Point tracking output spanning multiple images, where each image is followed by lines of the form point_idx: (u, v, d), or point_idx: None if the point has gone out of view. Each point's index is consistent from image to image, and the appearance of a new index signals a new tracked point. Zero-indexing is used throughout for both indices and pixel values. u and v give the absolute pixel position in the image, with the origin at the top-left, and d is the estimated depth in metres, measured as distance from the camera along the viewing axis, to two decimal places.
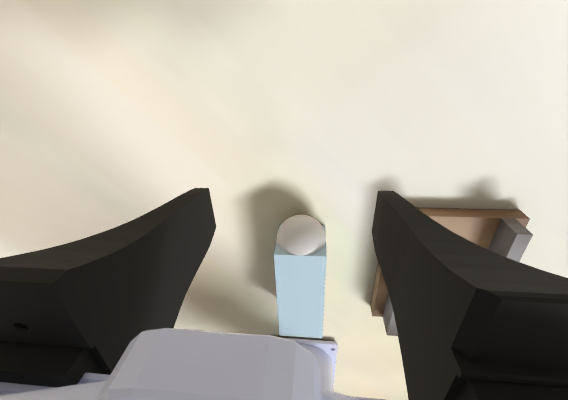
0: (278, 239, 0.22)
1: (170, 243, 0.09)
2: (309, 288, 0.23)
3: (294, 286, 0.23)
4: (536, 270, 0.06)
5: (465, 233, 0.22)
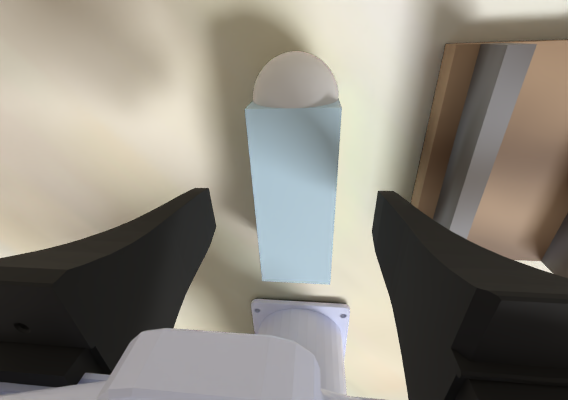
0: (254, 91, 0.13)
1: (170, 243, 0.09)
2: (309, 185, 0.13)
3: (284, 181, 0.13)
4: (536, 270, 0.06)
5: None
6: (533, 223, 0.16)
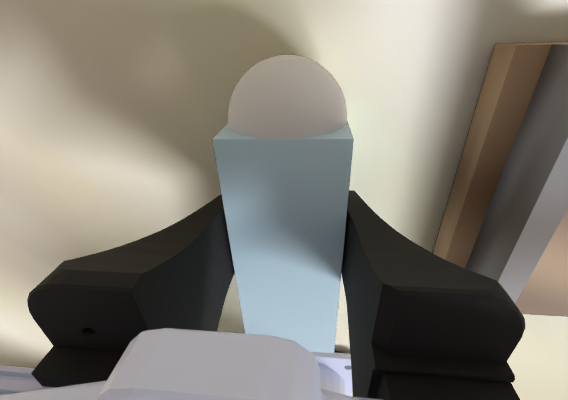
0: (229, 111, 0.09)
1: (215, 245, 0.09)
2: (307, 239, 0.10)
3: (272, 234, 0.10)
4: (455, 267, 0.06)
5: None
6: None
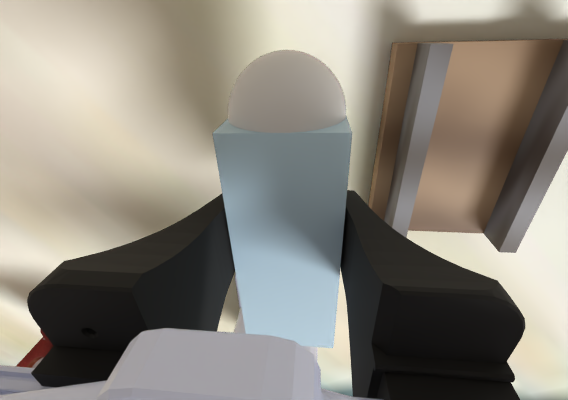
0: (229, 106, 0.09)
1: (215, 245, 0.09)
2: (306, 233, 0.10)
3: (271, 228, 0.10)
4: (455, 267, 0.06)
5: (507, 73, 0.15)
6: (474, 199, 0.19)
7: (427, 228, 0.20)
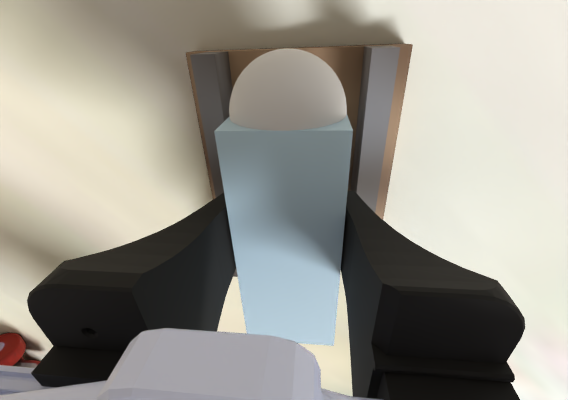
0: (230, 104, 0.09)
1: (215, 245, 0.09)
2: (307, 231, 0.10)
3: (272, 225, 0.10)
4: (455, 267, 0.06)
5: None
6: None
7: None
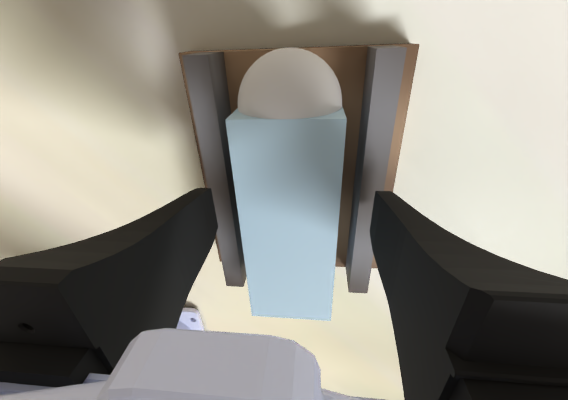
0: (239, 96, 0.10)
1: (173, 243, 0.09)
2: (306, 211, 0.11)
3: (275, 206, 0.11)
4: (530, 270, 0.06)
5: None
6: None
7: None
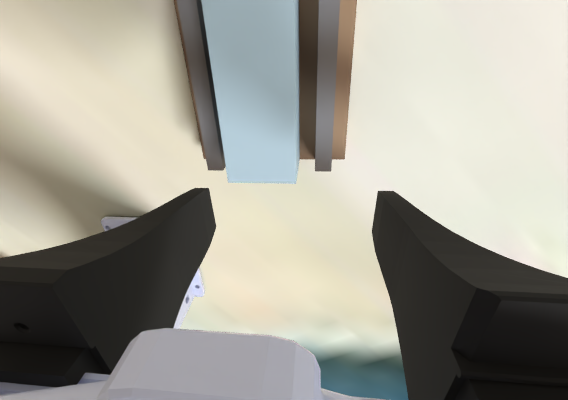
0: None
1: (170, 243, 0.09)
2: (267, 58, 0.13)
3: (241, 55, 0.13)
4: (536, 270, 0.06)
5: None
6: None
7: None
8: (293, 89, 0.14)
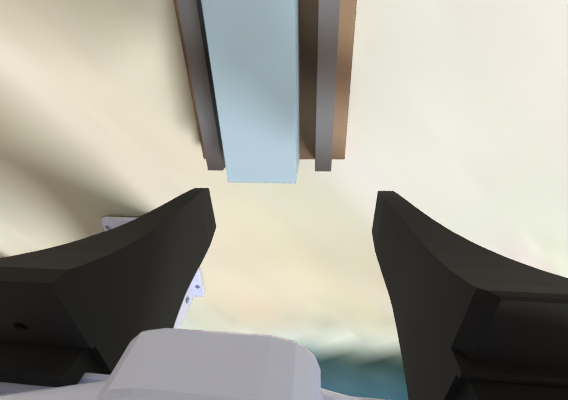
0: None
1: (170, 243, 0.09)
2: (267, 58, 0.13)
3: (241, 55, 0.13)
4: (536, 270, 0.06)
5: None
6: None
7: None
8: (293, 89, 0.14)
